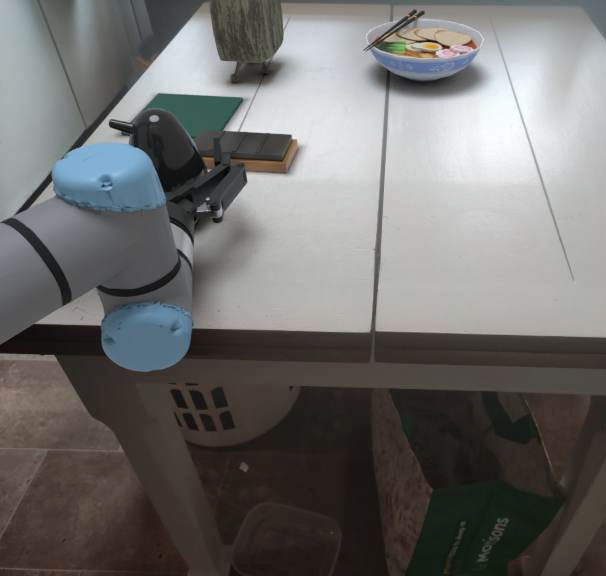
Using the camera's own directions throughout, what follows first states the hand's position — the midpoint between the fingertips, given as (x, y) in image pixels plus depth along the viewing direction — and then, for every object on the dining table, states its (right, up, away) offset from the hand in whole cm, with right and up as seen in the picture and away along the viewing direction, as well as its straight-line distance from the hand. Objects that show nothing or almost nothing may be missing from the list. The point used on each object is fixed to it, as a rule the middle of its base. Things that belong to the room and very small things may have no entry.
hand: (166, 151), depth 80 cm
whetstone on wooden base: (+7, +3, +15) cm, 17 cm away
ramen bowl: (+36, +24, +41) cm, 60 cm away
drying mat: (-6, +12, +26) cm, 29 cm away
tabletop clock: (+3, +25, +42) cm, 49 cm away
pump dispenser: (+1, -8, +3) cm, 9 cm away
